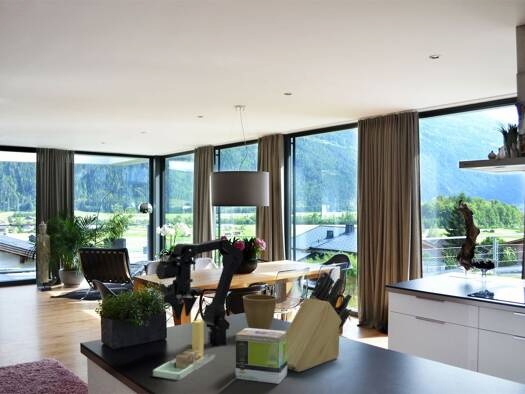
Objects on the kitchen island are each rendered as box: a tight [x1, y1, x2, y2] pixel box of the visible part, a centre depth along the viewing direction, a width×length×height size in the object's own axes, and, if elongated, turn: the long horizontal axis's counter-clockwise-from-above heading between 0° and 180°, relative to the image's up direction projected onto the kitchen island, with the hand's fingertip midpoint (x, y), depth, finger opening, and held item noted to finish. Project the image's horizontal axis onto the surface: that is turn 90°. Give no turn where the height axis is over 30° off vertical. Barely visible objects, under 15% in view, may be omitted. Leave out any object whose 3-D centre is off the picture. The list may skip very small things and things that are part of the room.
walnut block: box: [175, 352, 192, 369], centre depth 170 cm, size 4×4×4 cm
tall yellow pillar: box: [191, 319, 205, 359], centre depth 178 cm, size 4×5×13 cm
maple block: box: [182, 348, 199, 363], centre depth 174 cm, size 4×4×4 cm
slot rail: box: [169, 352, 216, 372], centre depth 175 cm, size 16×10×3 cm, turn 159°
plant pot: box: [242, 294, 278, 330], centre depth 219 cm, size 15×15×16 cm
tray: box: [152, 361, 194, 381], centre depth 163 cm, size 10×10×3 cm
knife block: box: [286, 271, 353, 373], centre depth 183 cm, size 11×35×31 cm, turn 137°
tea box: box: [235, 327, 288, 384], centre depth 164 cm, size 15×10×15 cm, turn 71°
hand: (182, 317), depth 191 cm, fingers open, 6 cm apart
